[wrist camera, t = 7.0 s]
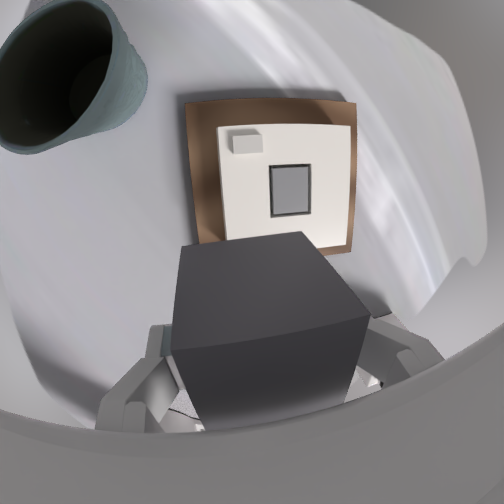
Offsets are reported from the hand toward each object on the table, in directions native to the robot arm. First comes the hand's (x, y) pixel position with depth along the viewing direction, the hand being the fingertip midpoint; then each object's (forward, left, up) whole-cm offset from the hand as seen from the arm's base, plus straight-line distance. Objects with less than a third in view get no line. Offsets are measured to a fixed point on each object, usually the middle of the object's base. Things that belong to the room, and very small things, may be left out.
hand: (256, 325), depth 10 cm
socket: (+1, -5, -17) cm, 17 cm away
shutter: (+1, -5, -14) cm, 15 cm away
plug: (0, 0, -3) cm, 3 cm away
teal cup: (+13, +10, -18) cm, 24 cm away
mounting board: (+1, -5, -18) cm, 19 cm away
